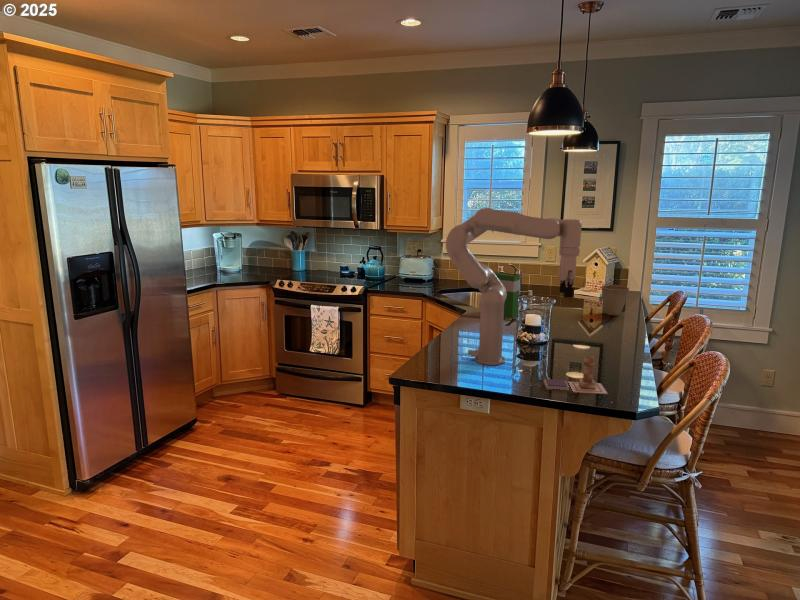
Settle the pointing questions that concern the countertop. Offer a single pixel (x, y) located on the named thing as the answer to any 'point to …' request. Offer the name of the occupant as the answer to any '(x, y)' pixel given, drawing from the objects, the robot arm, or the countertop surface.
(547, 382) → the ink pad
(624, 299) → the plant pot
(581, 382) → the stamp
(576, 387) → the note card
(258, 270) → the countertop surface
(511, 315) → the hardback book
